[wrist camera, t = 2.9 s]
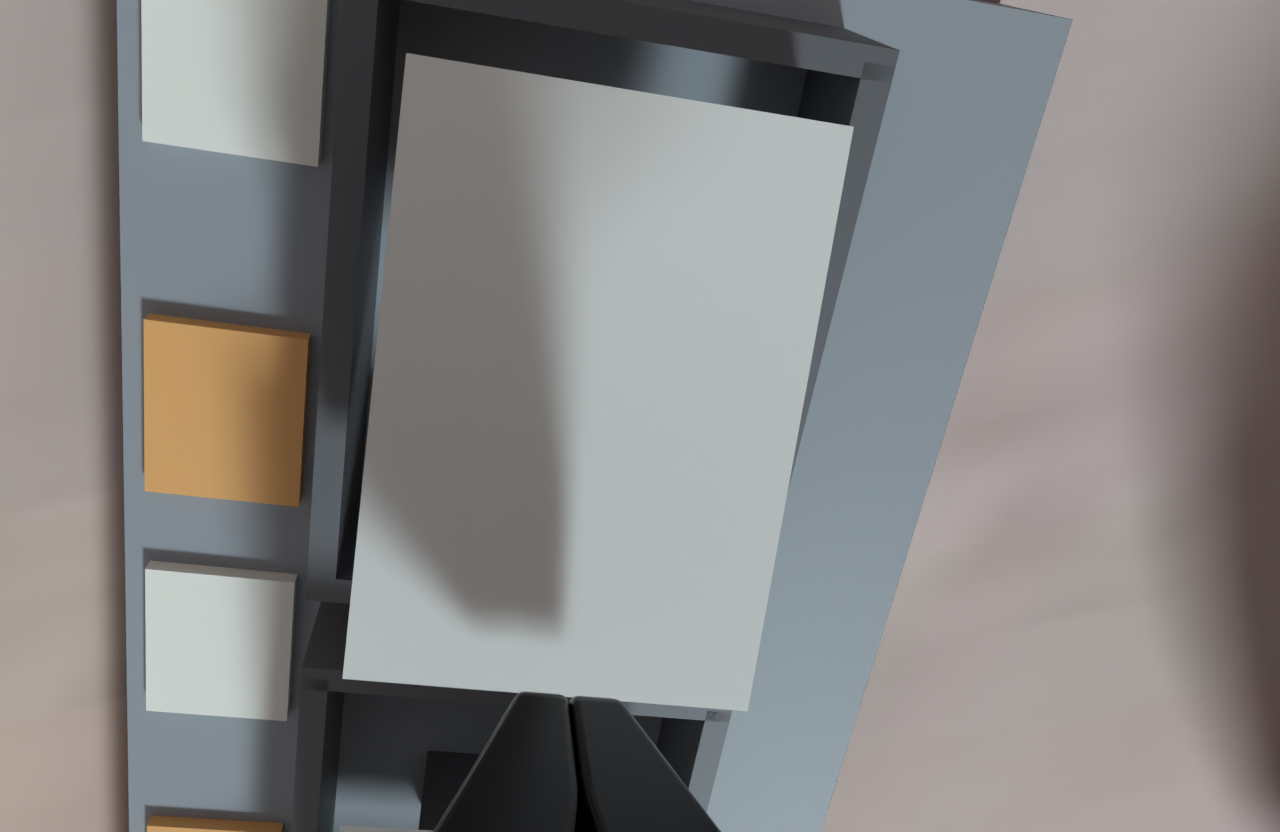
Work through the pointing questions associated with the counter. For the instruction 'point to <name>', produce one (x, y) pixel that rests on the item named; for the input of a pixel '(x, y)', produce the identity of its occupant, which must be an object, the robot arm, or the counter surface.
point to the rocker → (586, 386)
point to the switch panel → (345, 355)
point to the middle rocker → (375, 829)
